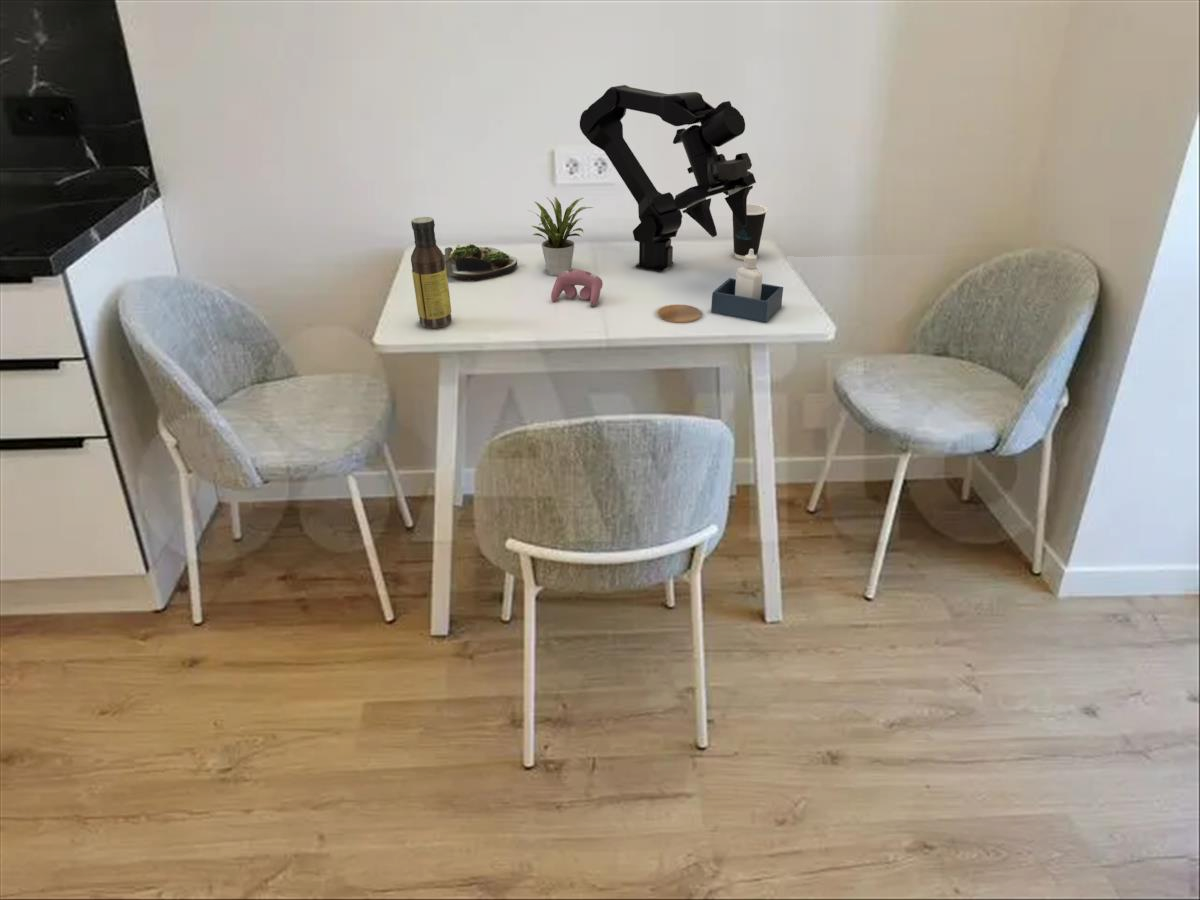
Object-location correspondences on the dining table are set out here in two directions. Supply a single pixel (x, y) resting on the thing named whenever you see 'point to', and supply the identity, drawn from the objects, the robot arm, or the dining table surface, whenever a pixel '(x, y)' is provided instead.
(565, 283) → the video game controller
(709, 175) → the robot arm
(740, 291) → the eye dropper bottle
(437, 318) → the sauce bottle
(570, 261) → the house plant
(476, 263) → the salad plate
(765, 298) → the tub
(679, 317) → the coaster
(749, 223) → the dixie cup
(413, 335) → the dining table surface
